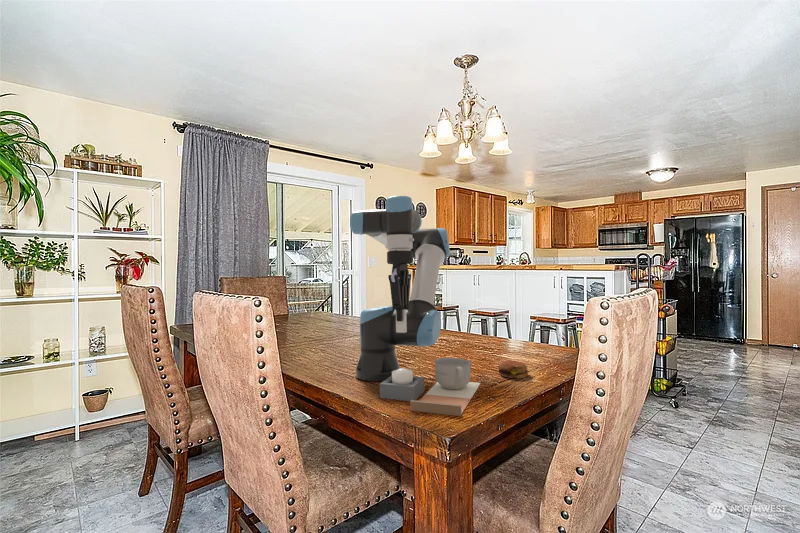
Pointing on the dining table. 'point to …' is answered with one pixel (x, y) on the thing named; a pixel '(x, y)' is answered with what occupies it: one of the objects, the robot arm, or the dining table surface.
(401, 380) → the white faceted ball
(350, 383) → the dining table surface
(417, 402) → the board
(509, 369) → the burger
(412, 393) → the grey square tray
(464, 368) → the teacup
